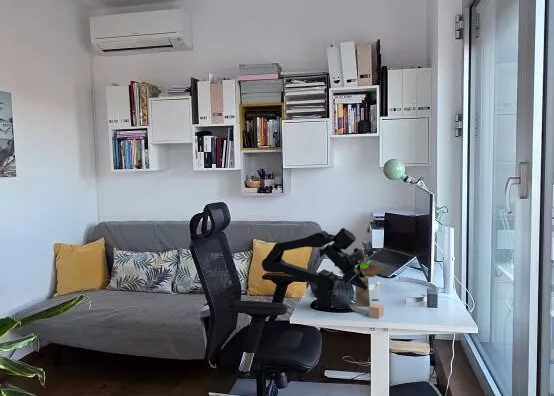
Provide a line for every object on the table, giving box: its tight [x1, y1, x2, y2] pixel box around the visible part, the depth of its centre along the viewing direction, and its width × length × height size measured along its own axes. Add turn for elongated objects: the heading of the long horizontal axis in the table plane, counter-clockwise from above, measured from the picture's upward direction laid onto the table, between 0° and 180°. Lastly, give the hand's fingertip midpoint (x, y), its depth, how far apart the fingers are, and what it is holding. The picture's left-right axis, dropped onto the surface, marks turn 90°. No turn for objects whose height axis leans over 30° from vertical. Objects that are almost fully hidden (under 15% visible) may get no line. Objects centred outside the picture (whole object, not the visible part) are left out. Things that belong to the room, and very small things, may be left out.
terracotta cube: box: [368, 303, 385, 319], centre depth 175 cm, size 4×4×4 cm
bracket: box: [369, 281, 381, 302], centre depth 200 cm, size 13×7×8 cm, turn 179°
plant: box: [357, 253, 382, 278], centre depth 243 cm, size 20×20×11 cm
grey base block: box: [348, 302, 374, 316], centre depth 183 cm, size 8×8×2 cm
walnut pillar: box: [354, 277, 371, 306], centre depth 183 cm, size 5×5×10 cm
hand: (367, 285), depth 182 cm, fingers open, 9 cm apart
